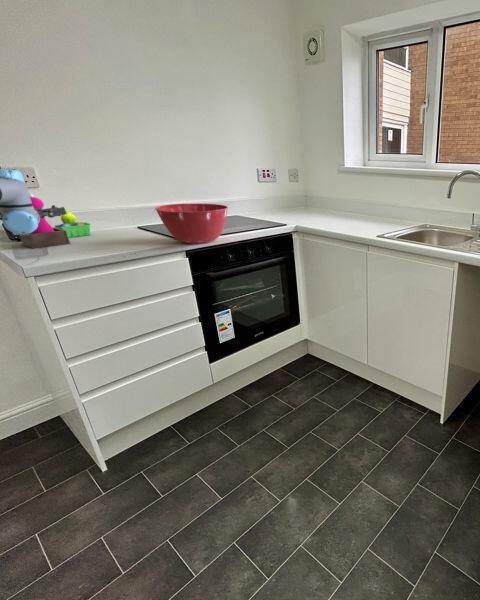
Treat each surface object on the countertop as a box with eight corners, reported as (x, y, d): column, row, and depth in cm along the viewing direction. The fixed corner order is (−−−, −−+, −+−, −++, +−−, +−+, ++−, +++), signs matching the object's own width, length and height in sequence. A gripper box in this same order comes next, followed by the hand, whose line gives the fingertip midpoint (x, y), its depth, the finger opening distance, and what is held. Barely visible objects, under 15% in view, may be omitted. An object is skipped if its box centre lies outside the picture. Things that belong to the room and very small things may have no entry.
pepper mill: (57, 243, 147) (41, 193, 140) (33, 245, 142) (15, 194, 135) (58, 240, 152) (42, 192, 145) (35, 242, 147) (17, 192, 140)
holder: (33, 248, 140) (28, 234, 138) (22, 244, 145) (17, 231, 143) (70, 243, 149) (65, 230, 147) (58, 240, 155) (54, 227, 153)
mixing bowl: (245, 239, 168) (241, 206, 162) (188, 250, 144) (181, 212, 139) (207, 232, 180) (202, 201, 174) (148, 242, 156) (140, 206, 150)
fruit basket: (63, 238, 157) (55, 213, 153) (56, 236, 162) (47, 211, 158) (94, 234, 167) (87, 210, 162) (86, 232, 171) (79, 209, 167)
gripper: (-26, 231, 114) (-14, 221, 128) (76, 225, 129) (76, 217, 144) (-36, 207, 111) (-22, 200, 126) (70, 204, 126) (70, 198, 141)
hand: (30, 209), depth 135 cm, fingers open, 13 cm apart
